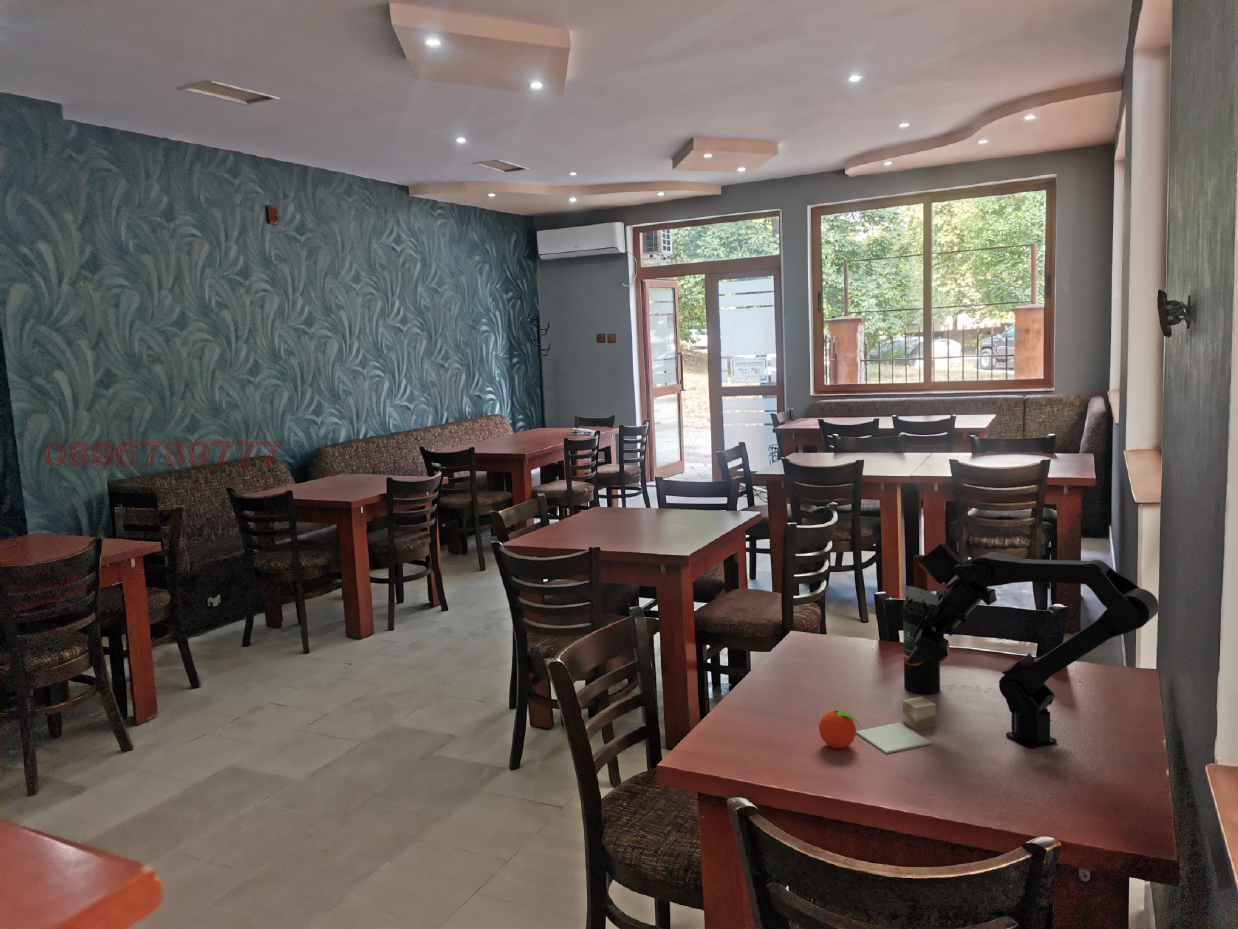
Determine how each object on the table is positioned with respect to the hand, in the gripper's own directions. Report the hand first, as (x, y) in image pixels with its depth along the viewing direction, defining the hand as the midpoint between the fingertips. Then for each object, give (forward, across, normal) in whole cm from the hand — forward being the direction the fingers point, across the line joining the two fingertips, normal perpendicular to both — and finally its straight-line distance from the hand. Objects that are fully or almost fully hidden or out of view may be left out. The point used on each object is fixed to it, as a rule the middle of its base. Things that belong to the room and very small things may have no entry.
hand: (911, 650), depth 182 cm
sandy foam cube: (+7, +10, +8) cm, 15 cm away
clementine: (+12, +25, -4) cm, 28 cm away
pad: (+8, +19, +4) cm, 20 cm away
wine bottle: (+12, -9, +10) cm, 18 cm away
